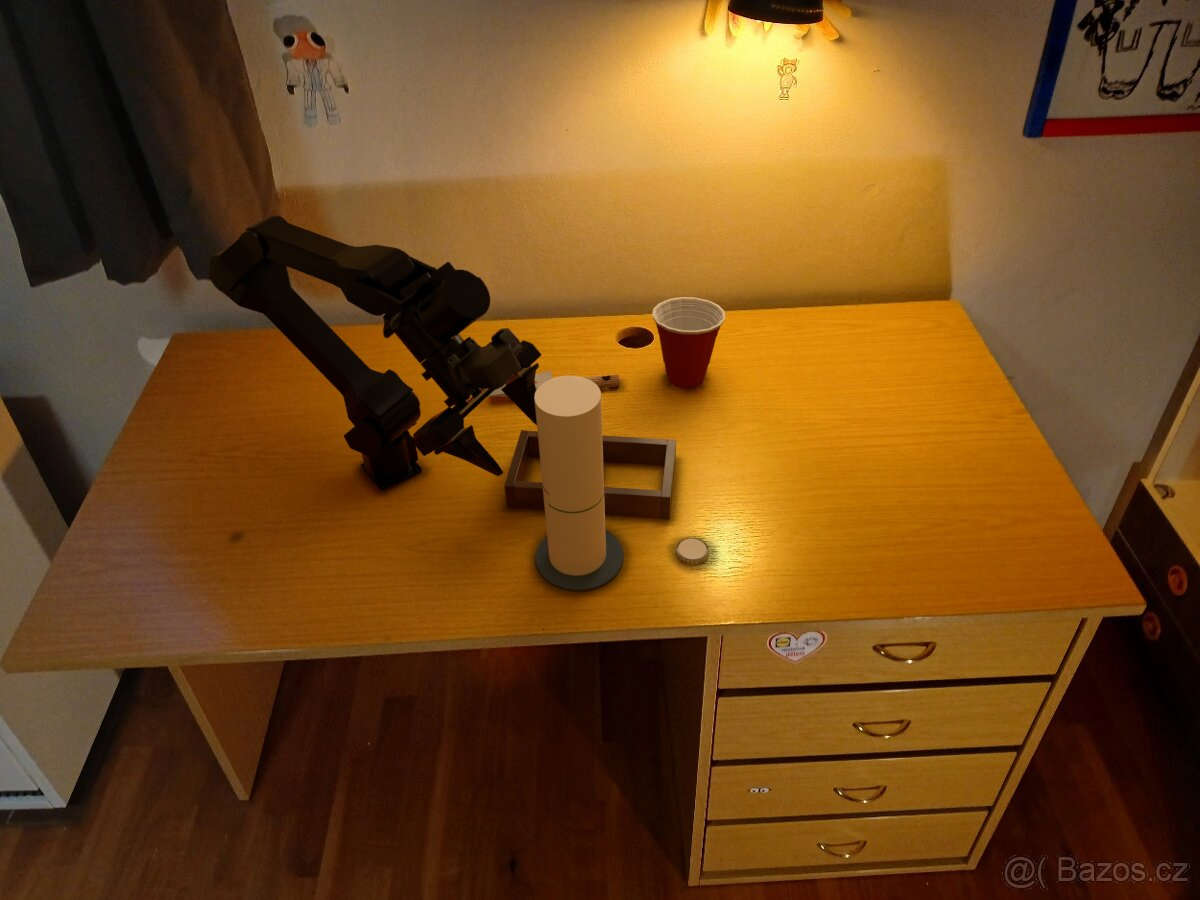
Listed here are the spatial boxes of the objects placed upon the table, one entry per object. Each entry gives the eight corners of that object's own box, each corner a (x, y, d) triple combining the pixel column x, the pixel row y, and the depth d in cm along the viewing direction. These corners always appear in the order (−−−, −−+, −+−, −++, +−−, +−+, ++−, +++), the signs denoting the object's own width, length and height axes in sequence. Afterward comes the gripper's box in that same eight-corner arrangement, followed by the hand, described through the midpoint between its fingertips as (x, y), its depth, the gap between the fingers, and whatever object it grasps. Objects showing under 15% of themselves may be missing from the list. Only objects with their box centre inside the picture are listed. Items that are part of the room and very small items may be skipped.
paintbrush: (487, 375, 138) (617, 366, 141) (488, 389, 140) (616, 380, 142) (488, 390, 135) (621, 380, 138) (489, 404, 137) (620, 395, 139)
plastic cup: (726, 362, 144) (731, 297, 137) (714, 403, 137) (719, 336, 129) (659, 353, 147) (660, 288, 139) (643, 392, 139) (644, 326, 131)
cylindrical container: (591, 526, 117) (583, 368, 101) (615, 563, 112) (612, 404, 96) (540, 544, 115) (524, 387, 99) (563, 583, 110) (550, 424, 94)
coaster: (570, 606, 108) (570, 604, 108) (518, 552, 115) (518, 550, 114) (641, 562, 113) (641, 560, 113) (588, 513, 120) (588, 511, 119)
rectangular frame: (507, 507, 121) (504, 485, 118) (523, 451, 129) (521, 429, 127) (669, 519, 118) (670, 497, 116) (675, 461, 127) (676, 439, 124)
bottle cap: (703, 567, 112) (703, 564, 112) (672, 559, 113) (672, 555, 113) (712, 545, 115) (712, 541, 114) (681, 537, 116) (681, 533, 115)
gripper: (416, 370, 94) (511, 484, 97) (522, 282, 105) (605, 387, 108) (374, 401, 103) (463, 505, 106) (476, 317, 114) (554, 413, 117)
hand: (523, 451), depth 109 cm, fingers open, 9 cm apart
